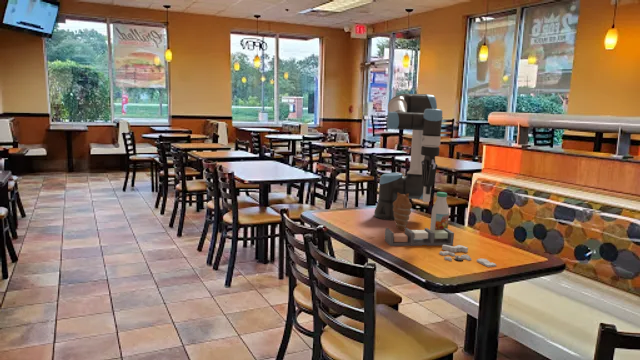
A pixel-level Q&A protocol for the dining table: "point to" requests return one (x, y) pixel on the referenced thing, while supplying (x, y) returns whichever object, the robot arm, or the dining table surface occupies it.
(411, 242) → the keypad
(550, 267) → the dining table surface
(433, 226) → the milk bottle
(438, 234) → the sage key
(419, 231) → the cream key
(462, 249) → the white puzzle pieces
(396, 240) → the brown flat block
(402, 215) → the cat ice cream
